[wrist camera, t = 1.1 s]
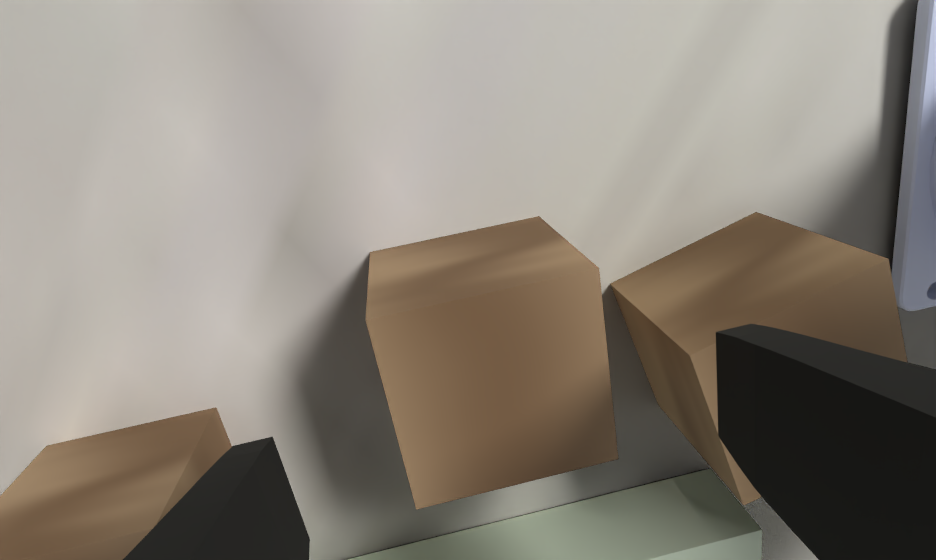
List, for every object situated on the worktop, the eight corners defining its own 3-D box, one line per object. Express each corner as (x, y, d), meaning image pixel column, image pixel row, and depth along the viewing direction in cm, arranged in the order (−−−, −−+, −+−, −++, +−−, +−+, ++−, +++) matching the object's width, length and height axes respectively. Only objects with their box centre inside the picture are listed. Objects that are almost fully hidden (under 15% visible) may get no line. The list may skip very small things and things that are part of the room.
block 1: (216, 405, 14) (154, 527, 10) (266, 531, 15) (227, 678, 11) (48, 443, 13) (-81, 584, 10) (114, 567, 15) (24, 731, 11)
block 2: (537, 215, 13) (598, 268, 10) (557, 362, 15) (618, 459, 11) (370, 251, 13) (365, 319, 9) (407, 398, 14) (416, 509, 11)
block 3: (753, 211, 14) (888, 258, 10) (789, 339, 15) (918, 422, 12) (608, 282, 14) (689, 355, 10) (657, 403, 16) (743, 505, 12)
